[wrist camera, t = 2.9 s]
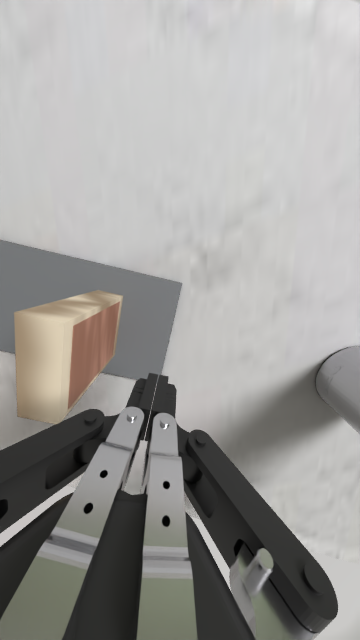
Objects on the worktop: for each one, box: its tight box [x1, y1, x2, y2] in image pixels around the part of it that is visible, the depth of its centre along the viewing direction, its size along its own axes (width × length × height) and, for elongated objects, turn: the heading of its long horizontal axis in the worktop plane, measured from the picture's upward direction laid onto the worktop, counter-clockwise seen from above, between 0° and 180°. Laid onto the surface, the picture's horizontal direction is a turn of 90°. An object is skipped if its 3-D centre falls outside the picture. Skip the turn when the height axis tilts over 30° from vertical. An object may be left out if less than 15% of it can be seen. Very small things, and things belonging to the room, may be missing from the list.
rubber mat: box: [0, 240, 182, 384], centre depth 23 cm, size 22×14×1 cm, turn 77°
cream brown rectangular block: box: [14, 290, 123, 424], centre depth 17 cm, size 3×8×11 cm, turn 167°
